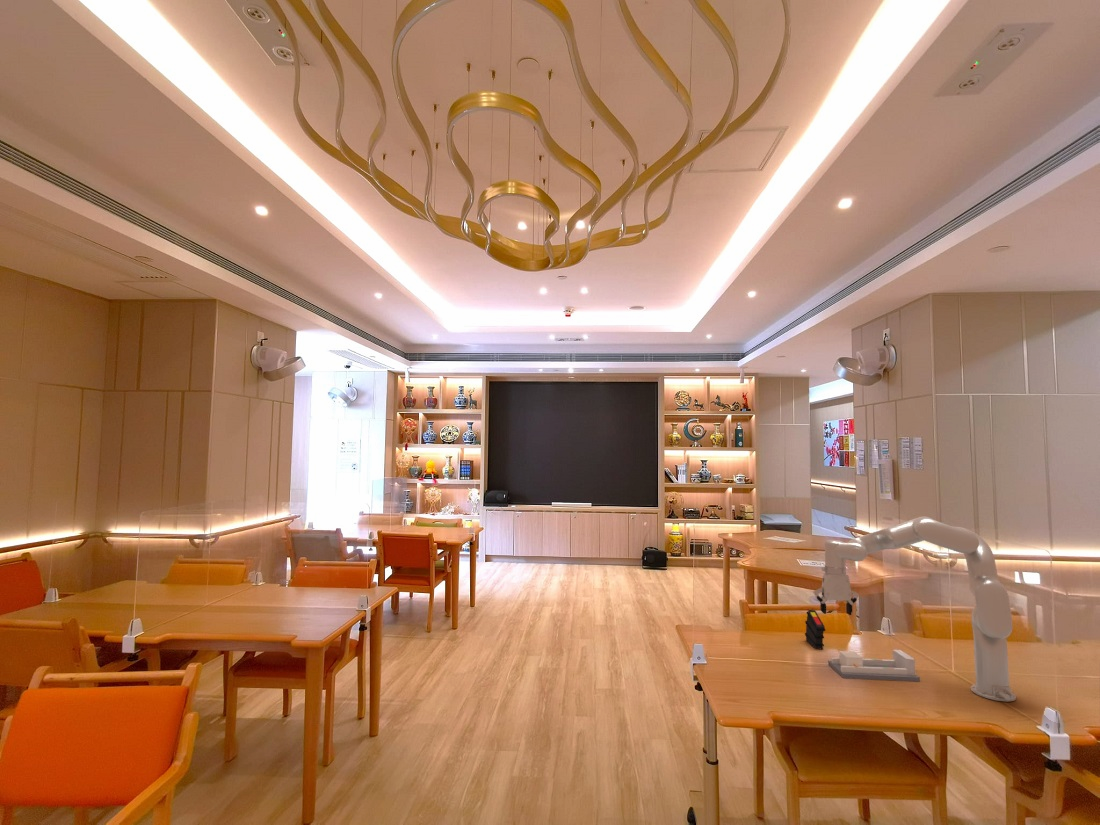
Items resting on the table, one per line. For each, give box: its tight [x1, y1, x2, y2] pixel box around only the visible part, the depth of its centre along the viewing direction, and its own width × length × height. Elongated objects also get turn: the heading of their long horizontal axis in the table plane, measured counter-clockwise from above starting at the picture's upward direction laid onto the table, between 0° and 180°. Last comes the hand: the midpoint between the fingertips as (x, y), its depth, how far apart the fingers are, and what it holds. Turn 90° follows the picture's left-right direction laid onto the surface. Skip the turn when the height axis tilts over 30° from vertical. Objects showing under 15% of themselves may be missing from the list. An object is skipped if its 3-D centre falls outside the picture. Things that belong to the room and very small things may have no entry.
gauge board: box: [827, 649, 921, 682], centre depth 216 cm, size 14×28×8 cm, turn 84°
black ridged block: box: [804, 609, 826, 650], centre depth 247 cm, size 4×13×15 cm, turn 177°
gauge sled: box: [838, 650, 864, 667], centre depth 217 cm, size 11×6×5 cm, turn 174°
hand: (836, 613), depth 222 cm, fingers open, 9 cm apart
